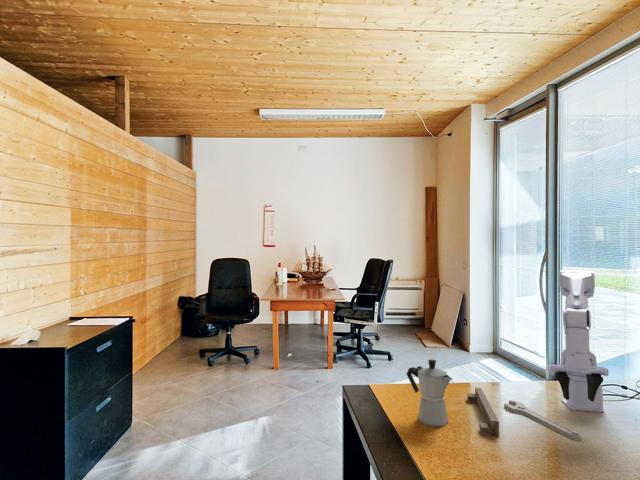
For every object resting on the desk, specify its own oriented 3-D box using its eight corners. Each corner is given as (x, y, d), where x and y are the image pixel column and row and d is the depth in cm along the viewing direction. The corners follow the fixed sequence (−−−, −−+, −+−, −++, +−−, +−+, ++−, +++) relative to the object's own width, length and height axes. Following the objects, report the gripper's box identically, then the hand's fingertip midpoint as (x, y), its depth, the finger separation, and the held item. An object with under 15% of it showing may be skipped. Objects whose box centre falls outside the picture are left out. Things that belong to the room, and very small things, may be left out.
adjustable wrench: (584, 441, 104) (584, 434, 104) (564, 444, 103) (564, 437, 103) (516, 404, 129) (516, 399, 129) (499, 406, 127) (499, 401, 127)
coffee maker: (459, 422, 115) (458, 360, 116) (446, 432, 109) (445, 367, 109) (414, 408, 125) (414, 352, 126) (400, 416, 119) (399, 357, 119)
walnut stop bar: (481, 400, 132) (481, 388, 132) (499, 436, 106) (498, 421, 106) (467, 399, 133) (467, 387, 133) (481, 434, 107) (481, 419, 107)
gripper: (554, 353, 108) (555, 402, 108) (613, 356, 105) (615, 407, 105) (545, 347, 115) (546, 393, 115) (601, 349, 112) (602, 397, 112)
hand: (578, 399), depth 110 cm, fingers open, 6 cm apart
